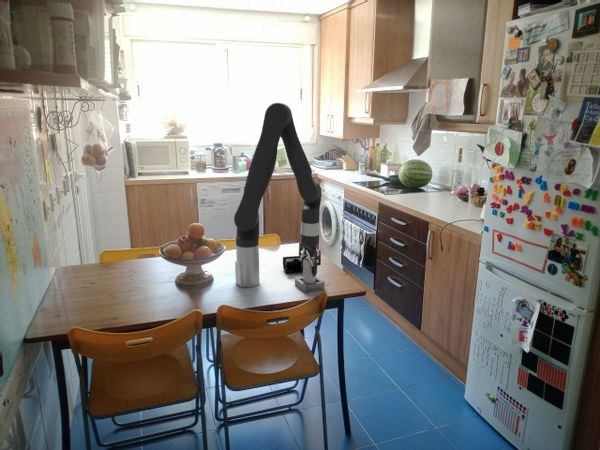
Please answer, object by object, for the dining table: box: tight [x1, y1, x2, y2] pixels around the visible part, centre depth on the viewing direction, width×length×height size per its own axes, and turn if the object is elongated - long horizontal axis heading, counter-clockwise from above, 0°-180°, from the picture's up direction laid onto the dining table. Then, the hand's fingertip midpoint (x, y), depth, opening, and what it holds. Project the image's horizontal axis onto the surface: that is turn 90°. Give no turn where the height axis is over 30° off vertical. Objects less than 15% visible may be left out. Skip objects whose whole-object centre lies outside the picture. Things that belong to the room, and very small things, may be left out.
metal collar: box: [294, 276, 326, 294], centre depth 183 cm, size 9×9×3 cm
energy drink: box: [302, 257, 317, 284], centre depth 182 cm, size 5×5×12 cm
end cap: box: [282, 255, 303, 275], centre depth 200 cm, size 10×7×7 cm
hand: (309, 270), depth 181 cm, fingers open, 8 cm apart
